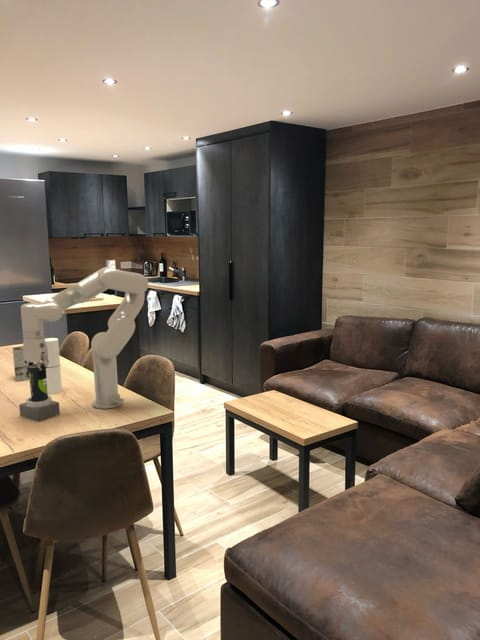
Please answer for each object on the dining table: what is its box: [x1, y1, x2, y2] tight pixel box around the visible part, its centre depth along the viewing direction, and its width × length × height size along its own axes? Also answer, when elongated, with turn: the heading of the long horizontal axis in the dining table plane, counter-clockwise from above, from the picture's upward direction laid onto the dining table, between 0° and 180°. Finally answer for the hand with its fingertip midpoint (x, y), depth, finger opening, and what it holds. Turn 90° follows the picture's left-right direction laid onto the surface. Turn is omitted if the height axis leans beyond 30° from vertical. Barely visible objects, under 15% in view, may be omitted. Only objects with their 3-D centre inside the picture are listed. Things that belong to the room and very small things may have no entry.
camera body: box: [18, 395, 61, 423], centre depth 204 cm, size 12×10×7 cm
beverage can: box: [28, 363, 49, 402], centre depth 202 cm, size 6×6×15 cm
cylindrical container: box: [45, 337, 63, 395], centre depth 234 cm, size 7×7×25 cm
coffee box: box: [12, 345, 29, 382], centre depth 257 cm, size 9×6×16 cm
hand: (37, 377), depth 202 cm, fingers open, 6 cm apart
